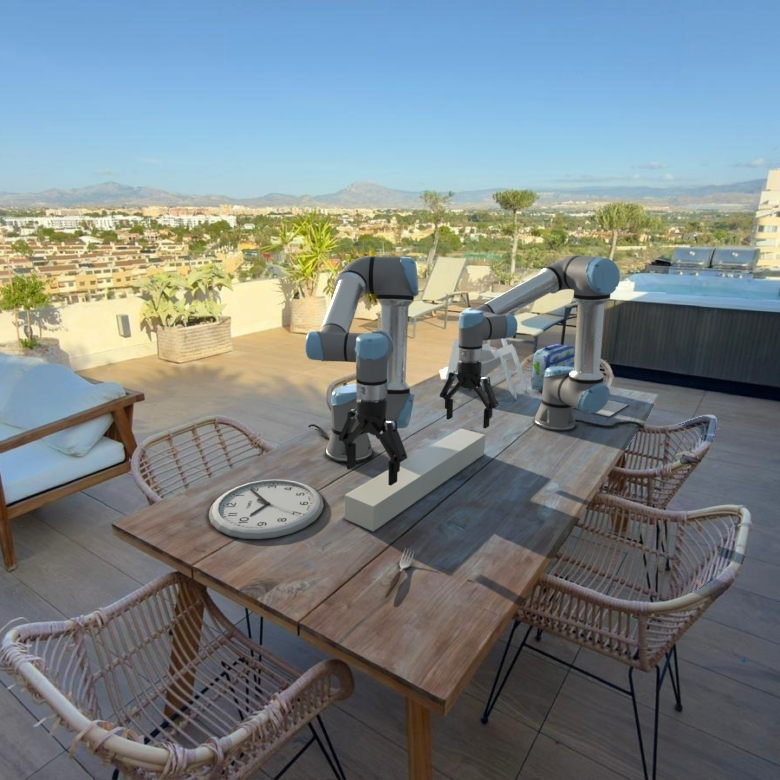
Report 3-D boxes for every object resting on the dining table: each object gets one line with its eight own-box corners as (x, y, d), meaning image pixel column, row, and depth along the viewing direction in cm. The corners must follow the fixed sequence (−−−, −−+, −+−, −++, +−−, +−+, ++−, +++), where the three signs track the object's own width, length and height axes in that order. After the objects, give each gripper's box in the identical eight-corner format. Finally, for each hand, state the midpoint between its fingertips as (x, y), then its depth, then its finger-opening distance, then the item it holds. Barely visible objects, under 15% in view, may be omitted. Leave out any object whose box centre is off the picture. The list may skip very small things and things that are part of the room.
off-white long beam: (459, 447, 182) (460, 428, 180) (483, 454, 177) (485, 434, 174) (344, 519, 136) (344, 494, 134) (373, 531, 131) (373, 506, 129)
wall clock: (321, 531, 127) (194, 535, 125) (321, 537, 128) (195, 541, 125) (325, 475, 156) (222, 477, 153) (325, 480, 156) (222, 482, 154)
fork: (379, 598, 107) (379, 590, 107) (404, 554, 122) (404, 547, 121) (391, 601, 106) (391, 593, 106) (415, 557, 121) (415, 549, 120)
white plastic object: (461, 429, 252) (437, 405, 227) (444, 352, 274) (420, 323, 250) (535, 404, 240) (518, 377, 215) (510, 326, 262) (492, 293, 237)
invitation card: (608, 416, 214) (573, 407, 224) (608, 416, 214) (573, 408, 224) (628, 404, 229) (594, 396, 238) (628, 405, 229) (594, 397, 238)
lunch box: (547, 396, 238) (552, 351, 232) (526, 391, 246) (531, 347, 239) (574, 385, 256) (579, 343, 250) (554, 380, 263) (559, 340, 257)
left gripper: (323, 390, 131) (326, 466, 139) (404, 414, 117) (402, 496, 124) (343, 383, 137) (344, 456, 144) (423, 404, 123) (420, 484, 130)
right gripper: (429, 357, 170) (429, 418, 176) (500, 368, 155) (497, 434, 162) (442, 352, 175) (441, 411, 182) (511, 363, 161) (507, 427, 168)
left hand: (371, 475), depth 134 cm, fingers open, 13 cm apart
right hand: (467, 422), depth 172 cm, fingers open, 13 cm apart
